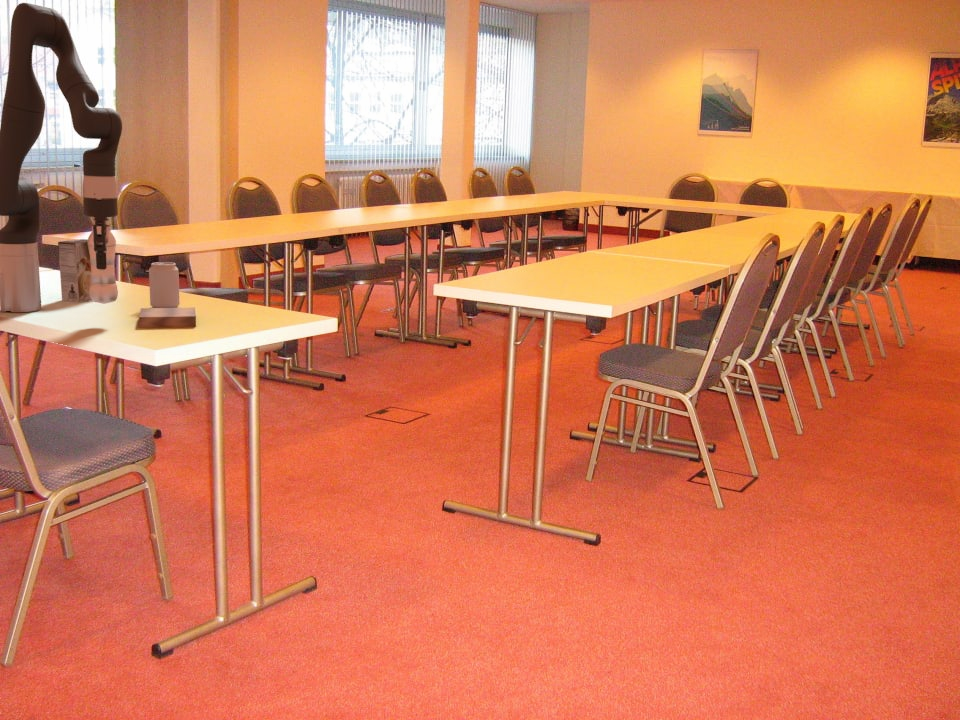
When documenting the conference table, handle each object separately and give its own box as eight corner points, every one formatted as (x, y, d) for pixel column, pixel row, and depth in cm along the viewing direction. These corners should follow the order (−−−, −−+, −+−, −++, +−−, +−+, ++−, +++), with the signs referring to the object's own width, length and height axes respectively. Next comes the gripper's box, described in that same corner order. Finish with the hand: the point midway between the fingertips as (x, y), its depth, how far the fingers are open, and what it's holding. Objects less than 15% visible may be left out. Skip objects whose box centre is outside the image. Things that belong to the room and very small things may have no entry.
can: (171, 310, 261) (169, 265, 259) (144, 309, 263) (143, 263, 260) (184, 306, 268) (183, 262, 266) (159, 304, 270) (157, 260, 267)
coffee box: (85, 296, 280) (82, 238, 277) (103, 297, 278) (100, 240, 275) (60, 300, 272) (57, 241, 269) (79, 302, 270) (75, 242, 266)
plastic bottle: (90, 305, 234) (86, 220, 229) (88, 300, 240) (85, 217, 235) (119, 305, 236) (116, 220, 232) (117, 300, 242) (114, 217, 238)
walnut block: (139, 327, 237) (138, 317, 237) (141, 318, 249) (140, 308, 249) (196, 326, 241) (195, 316, 240) (195, 317, 253) (195, 307, 253)
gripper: (85, 193, 238) (88, 262, 242) (79, 197, 225) (82, 271, 229) (119, 194, 240) (121, 263, 244) (115, 198, 227) (117, 271, 231)
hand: (102, 266), depth 236 cm, fingers closed on plastic bottle, 6 cm apart
